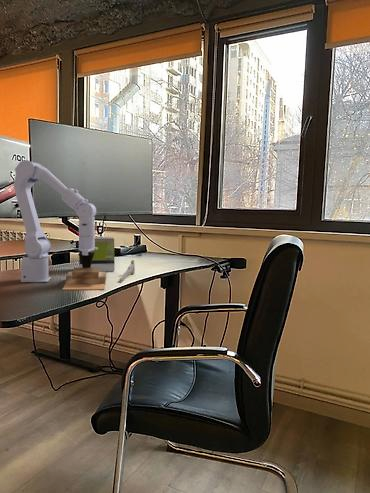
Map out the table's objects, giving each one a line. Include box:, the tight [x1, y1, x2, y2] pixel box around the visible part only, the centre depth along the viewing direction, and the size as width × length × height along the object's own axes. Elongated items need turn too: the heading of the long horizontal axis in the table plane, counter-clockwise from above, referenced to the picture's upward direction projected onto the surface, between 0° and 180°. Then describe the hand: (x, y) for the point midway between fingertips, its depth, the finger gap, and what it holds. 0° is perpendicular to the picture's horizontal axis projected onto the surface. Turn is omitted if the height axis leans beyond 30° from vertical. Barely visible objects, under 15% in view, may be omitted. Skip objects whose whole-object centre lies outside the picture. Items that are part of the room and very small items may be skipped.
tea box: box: [78, 236, 115, 272], centre depth 174 cm, size 15×10×15 cm
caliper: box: [118, 259, 136, 284], centre depth 158 cm, size 20×1×6 cm, turn 173°
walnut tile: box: [71, 267, 99, 279], centre depth 143 cm, size 9×6×2 cm, turn 99°
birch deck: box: [65, 271, 107, 285], centre depth 148 cm, size 14×10×3 cm
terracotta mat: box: [61, 283, 106, 291], centre depth 139 cm, size 14×9×1 cm, turn 99°
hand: (86, 272), depth 147 cm, fingers closed
